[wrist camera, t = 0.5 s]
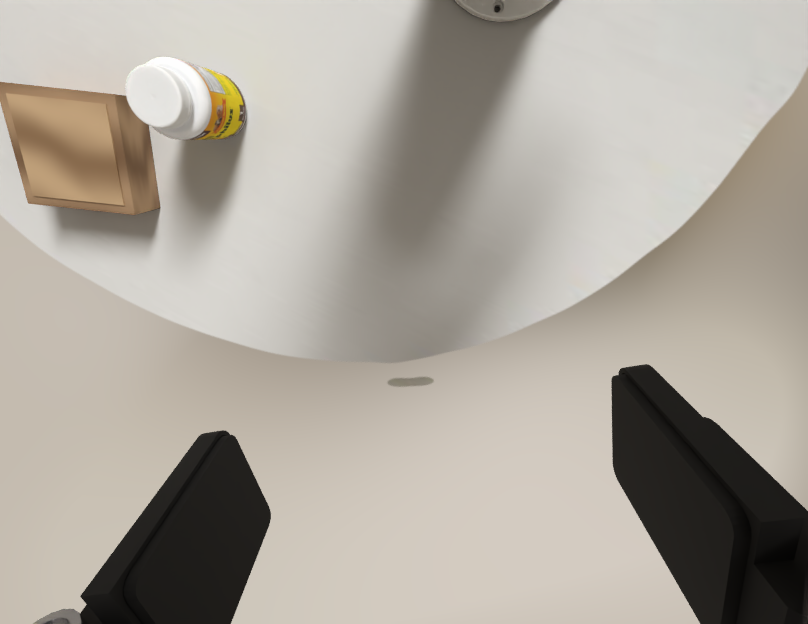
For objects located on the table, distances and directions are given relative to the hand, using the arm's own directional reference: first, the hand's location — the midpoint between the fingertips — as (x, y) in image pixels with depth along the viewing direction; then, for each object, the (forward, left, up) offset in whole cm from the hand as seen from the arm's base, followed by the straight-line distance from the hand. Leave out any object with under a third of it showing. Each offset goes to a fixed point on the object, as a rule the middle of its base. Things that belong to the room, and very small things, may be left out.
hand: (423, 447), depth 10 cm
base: (-3, -32, -33) cm, 46 cm away
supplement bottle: (-8, -20, -34) cm, 40 cm away
